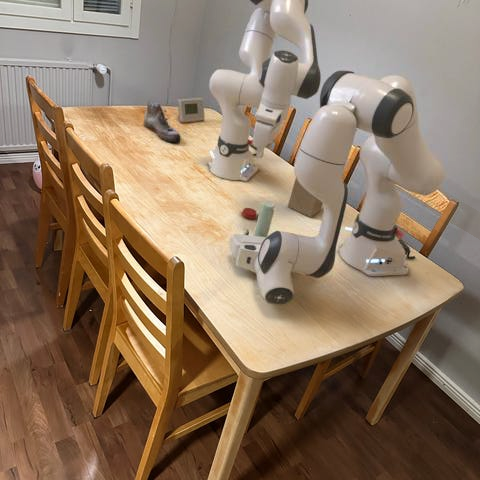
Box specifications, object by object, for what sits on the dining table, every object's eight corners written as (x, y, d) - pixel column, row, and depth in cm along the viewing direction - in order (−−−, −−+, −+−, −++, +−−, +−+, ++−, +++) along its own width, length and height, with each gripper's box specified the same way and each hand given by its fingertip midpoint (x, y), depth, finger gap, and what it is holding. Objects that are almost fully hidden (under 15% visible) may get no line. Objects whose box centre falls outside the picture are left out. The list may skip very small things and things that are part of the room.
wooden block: (310, 217, 160) (327, 167, 149) (286, 207, 163) (301, 157, 153) (321, 209, 167) (337, 160, 157) (298, 198, 171) (312, 150, 160)
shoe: (184, 144, 195) (187, 117, 189) (160, 144, 190) (163, 116, 183) (163, 123, 212) (165, 98, 206) (141, 123, 207) (143, 97, 200)
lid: (258, 217, 153) (259, 212, 152) (250, 221, 150) (251, 216, 149) (247, 211, 155) (248, 206, 154) (239, 215, 152) (240, 210, 151)
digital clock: (179, 123, 216) (182, 102, 211) (171, 117, 222) (173, 96, 216) (207, 123, 225) (211, 102, 220) (199, 116, 231) (202, 96, 225)
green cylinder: (249, 249, 135) (260, 204, 126) (253, 243, 138) (264, 199, 130) (261, 254, 134) (273, 209, 126) (265, 247, 137) (277, 203, 129)
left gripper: (272, 99, 141) (263, 140, 149) (253, 115, 124) (244, 160, 132) (291, 104, 140) (281, 145, 147) (274, 121, 123) (264, 166, 131)
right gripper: (307, 254, 122) (296, 227, 134) (235, 247, 118) (230, 220, 130) (301, 271, 126) (290, 244, 137) (231, 265, 122) (226, 238, 133)
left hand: (263, 152), depth 140 cm, fingers open, 8 cm apart
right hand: (260, 232), depth 133 cm, fingers open, 8 cm apart
